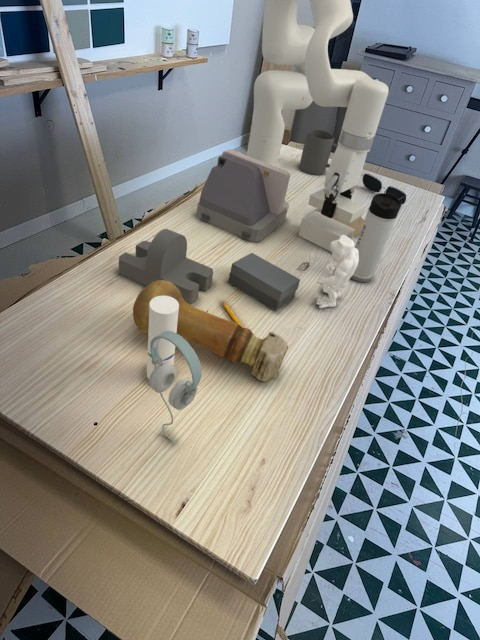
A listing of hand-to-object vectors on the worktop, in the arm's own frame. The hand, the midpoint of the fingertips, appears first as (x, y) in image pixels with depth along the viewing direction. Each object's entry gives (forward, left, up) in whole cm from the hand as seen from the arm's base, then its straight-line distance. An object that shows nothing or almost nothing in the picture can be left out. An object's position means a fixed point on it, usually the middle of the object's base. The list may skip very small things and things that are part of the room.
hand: (334, 211), depth 117 cm
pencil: (+8, -45, -9) cm, 46 cm away
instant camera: (-21, -9, -9) cm, 25 cm away
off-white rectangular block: (0, 0, -9) cm, 9 cm away
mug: (-26, +40, -9) cm, 49 cm away
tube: (+5, -64, -9) cm, 65 cm away
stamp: (+6, -54, -9) cm, 55 cm away
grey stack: (+2, -31, -9) cm, 32 cm away
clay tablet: (-3, +13, -9) cm, 16 cm away
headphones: (+15, -72, -9) cm, 74 cm away
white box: (0, 0, +1) cm, 1 cm away
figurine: (+14, -22, -9) cm, 27 cm away
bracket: (-14, -44, -9) cm, 47 cm away
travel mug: (+14, -7, -9) cm, 18 cm away
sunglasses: (-4, +35, -9) cm, 36 cm away
